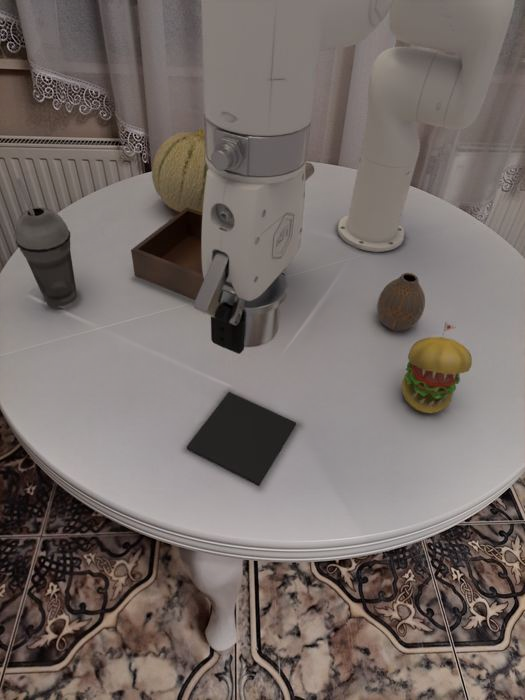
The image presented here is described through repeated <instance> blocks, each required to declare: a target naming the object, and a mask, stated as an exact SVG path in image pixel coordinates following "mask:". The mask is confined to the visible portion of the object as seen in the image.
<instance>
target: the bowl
mask: <svg viewBox="0 0 525 700" xmlns="http://www.w3.org/2000/svg"><path fill="white" fill-rule="evenodd" d="M282 273H283V272H282ZM282 273H280V275H279V276H278V277H277V278H276V279H275V280H274V281H273V283H272V284H271V285H270V286H269V287H268V288H267V289H266V290H265V291H264V292H263V293H262V294H261V295H260V296H259V297H258V298H256V299H254V300H252V301H245V304H244V308H243V312H242V315H241V317H243V318H244V319H245V338H244V348H255V347H256V348H257V347H261V346H263V345H266V344H268V343H270V342H271V341H272V340H274V338H275V337H276V336H277V334H278V332H279V329H280V322H281V321H280V320H281V311H282V304H283V303H284V301H285V300H286V298H287V295H288V286H289V285H288V281H287V278H286V277H285V276H284V275H283V274H282ZM226 281H228V282H230V283H231V280H230V278H229V275H228V278H227V280H226ZM235 296H236V295H233V294H231V293H228V292H225V291H223V294H222V298H221V302H220V303H221V305H223V306H226V307H228V308H231V309H232V307H233V303H234V299H235Z"/></svg>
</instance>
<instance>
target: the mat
mask: <svg viewBox="0 0 525 700" xmlns="http://www.w3.org/2000/svg"><path fill="white" fill-rule="evenodd" d="M296 426H297V421H294V420H292V419H289V418H288V417H285V416H283V415H281V414H278V413H276V412H274V411H273V410H270V409H268V408H265V407H263V406H261V405H259V404H256V403H255V402H252V401H251V400H248V399H246V398H243V397H241V396H239V395H237V394H235V393H233V392H230V391H227V393H226V394H225V396H224V397H223V398H222V400H221V401H220V403H219V404H218V405H217V406H216V408H215V409H214V410H213V411H212V412H211V414H210V415H209V417H208V418H207V419H206V421H205V422H204V423H203V425H202V426H201V427H200V428H199V430H198V431H197V432H196V433H195V435H194V436H193V437H192V439H191V440H190V441H189V442H188V444H187V445H186V450H187V451H189V452H192V453H193V454H195V455H197V456H199V457H202V458H203V459H205V460H206V461H209V462H210V463H213V464H215V465H216V466H219V467H220V468H223V469H224V470H227V471H229V472H230V473H232V474H234V475H236V476H238V477H240V478H242V479H244V480H246V481H248V482H249V483H251V484H254V485H256V486H258V487H259V486H260V485H262V482H263V481H264V479H265V477H266V476H267V474H268V472H269V471H270V469H271V468H272V465H273V464H274V463H275V461H276V459H277V457H278V456H279V454H280V453H281V451H282V449H283V448H284V446H285V445H286V443H287V441H288V439H289V438H290V436H291V434H292V433H293V432H294V429H295V428H296Z"/></svg>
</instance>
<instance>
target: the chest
mask: <svg viewBox="0 0 525 700" xmlns="http://www.w3.org/2000/svg"><path fill="white" fill-rule="evenodd" d="M202 214H203V213H202V212H199V211H196V210H193V209H190V208H185V209H184V210H183V211H181V212H178V213H177V214H176V215H175V216H174V217H172V218H171V219H169V220H168V221H167V222H165V223H164V224H163V225H162V226H160V227H159V228H158V229H156V230H155V231H154V232H153V233H151V234H150V235H148V236H147V237H146V238H144V239H143V240H142V241H141V242H139V243H138V244H136V245H135V246H134V247H133V248H131V249H130V253H131V260H132V267H133V273H134V276H135V277H136V278H139V279H142V280H144V281H146V282H149V283H151V284H154V285H157V286H159V287H161V288H164V289H166V290H168V291H171V292H174V293H176V294H179V295H181V296H184V297H186V298H188V299H191V300H194V301H195V300H196V297H197V295H198V293H199V291H200V288H201V286H202V284H203V281H204V277H203V270H202V253H201V239H202Z"/></svg>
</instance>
